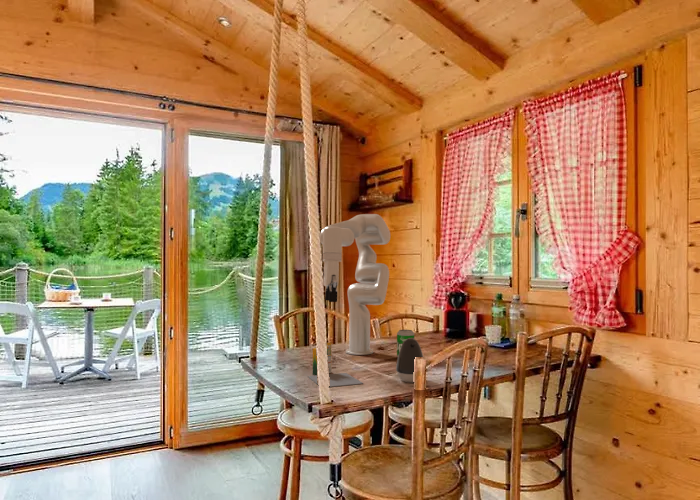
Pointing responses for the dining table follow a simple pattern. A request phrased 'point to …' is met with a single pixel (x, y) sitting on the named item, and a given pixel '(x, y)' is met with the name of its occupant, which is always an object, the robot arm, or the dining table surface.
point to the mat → (339, 380)
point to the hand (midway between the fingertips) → (331, 301)
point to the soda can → (403, 338)
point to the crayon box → (316, 359)
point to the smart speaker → (408, 359)
